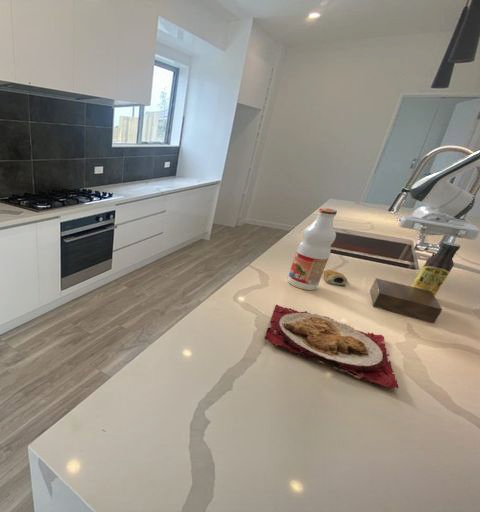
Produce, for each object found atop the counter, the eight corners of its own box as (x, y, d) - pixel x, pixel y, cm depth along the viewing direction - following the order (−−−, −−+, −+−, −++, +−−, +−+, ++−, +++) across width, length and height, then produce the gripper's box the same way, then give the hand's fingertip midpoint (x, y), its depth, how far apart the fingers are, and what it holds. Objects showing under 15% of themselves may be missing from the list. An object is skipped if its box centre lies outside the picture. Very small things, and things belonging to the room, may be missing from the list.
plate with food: (395, 396, 63) (403, 383, 62) (262, 342, 76) (266, 331, 75) (381, 340, 81) (387, 330, 79) (275, 305, 94) (279, 295, 93)
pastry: (317, 273, 118) (321, 264, 117) (337, 276, 117) (340, 267, 115) (327, 283, 110) (331, 274, 109) (348, 287, 108) (352, 278, 107)
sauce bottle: (408, 295, 104) (436, 242, 96) (407, 289, 108) (434, 238, 101) (434, 303, 100) (466, 248, 92) (433, 296, 104) (462, 243, 96)
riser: (424, 304, 99) (431, 291, 97) (434, 323, 89) (442, 309, 87) (370, 290, 107) (375, 278, 105) (372, 306, 96) (379, 293, 94)
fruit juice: (319, 293, 103) (349, 214, 92) (287, 286, 107) (313, 210, 96) (314, 282, 111) (342, 208, 100) (285, 276, 115) (309, 204, 104)
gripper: (400, 209, 119) (406, 217, 109) (475, 221, 108) (489, 230, 98) (392, 224, 122) (397, 233, 112) (465, 237, 111) (478, 248, 101)
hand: (441, 232), depth 105 cm, fingers open, 8 cm apart
